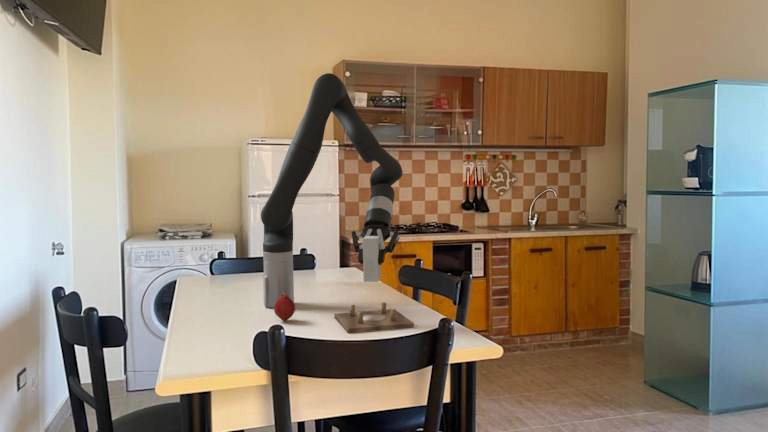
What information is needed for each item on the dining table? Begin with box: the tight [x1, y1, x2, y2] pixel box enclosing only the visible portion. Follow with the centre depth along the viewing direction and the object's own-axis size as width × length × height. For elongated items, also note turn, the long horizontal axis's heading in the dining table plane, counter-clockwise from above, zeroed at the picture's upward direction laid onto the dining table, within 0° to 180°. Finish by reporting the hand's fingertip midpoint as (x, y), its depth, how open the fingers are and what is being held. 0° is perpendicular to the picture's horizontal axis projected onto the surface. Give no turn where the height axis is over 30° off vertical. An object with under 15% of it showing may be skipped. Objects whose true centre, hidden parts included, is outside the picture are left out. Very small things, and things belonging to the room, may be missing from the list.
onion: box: [273, 293, 296, 322], centre depth 175 cm, size 6×6×8 cm
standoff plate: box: [333, 302, 415, 334], centre depth 172 cm, size 18×18×4 cm
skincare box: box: [362, 236, 382, 283], centre depth 171 cm, size 6×4×12 cm
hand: (370, 262), depth 169 cm, fingers closed on skincare box, 4 cm apart
